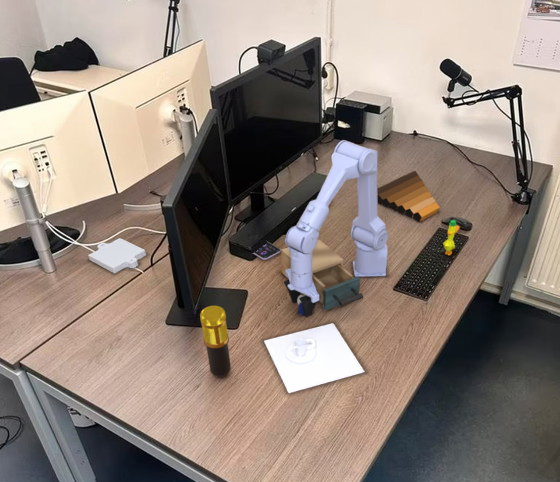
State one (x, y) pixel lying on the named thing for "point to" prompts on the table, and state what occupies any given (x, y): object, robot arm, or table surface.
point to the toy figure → (450, 237)
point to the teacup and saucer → (312, 357)
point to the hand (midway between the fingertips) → (302, 308)
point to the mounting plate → (117, 255)
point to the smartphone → (267, 251)
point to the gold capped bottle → (216, 340)
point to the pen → (300, 305)
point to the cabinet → (314, 258)
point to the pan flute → (408, 197)
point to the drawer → (336, 287)
